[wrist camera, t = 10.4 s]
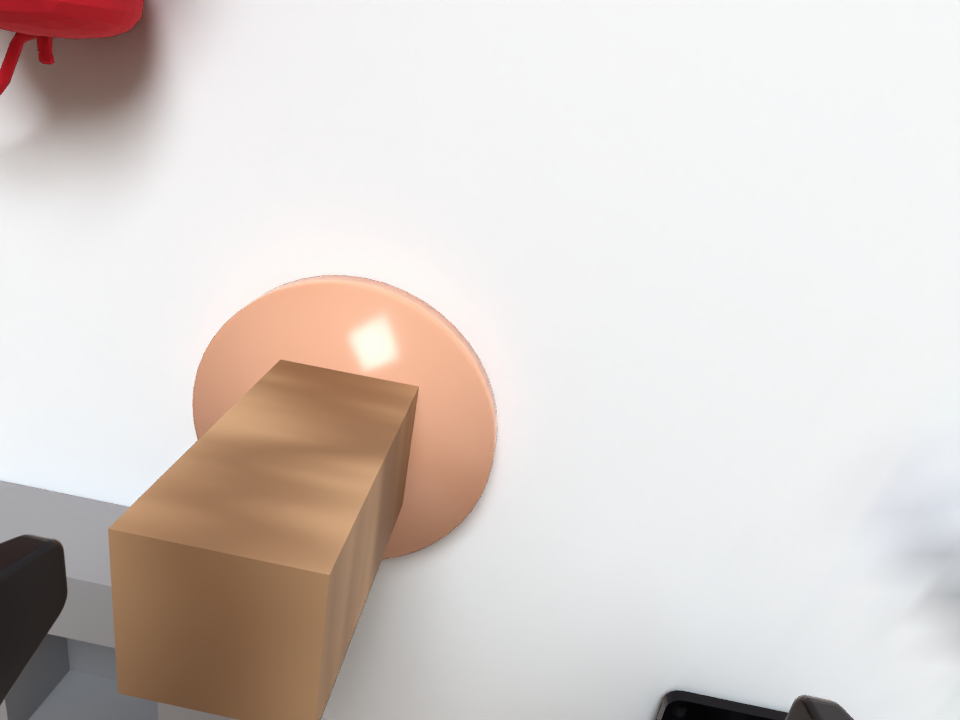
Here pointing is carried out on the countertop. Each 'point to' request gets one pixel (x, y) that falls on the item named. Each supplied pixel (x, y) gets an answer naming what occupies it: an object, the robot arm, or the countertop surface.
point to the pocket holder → (75, 617)
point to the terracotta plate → (379, 354)
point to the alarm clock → (61, 24)
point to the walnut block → (262, 546)
